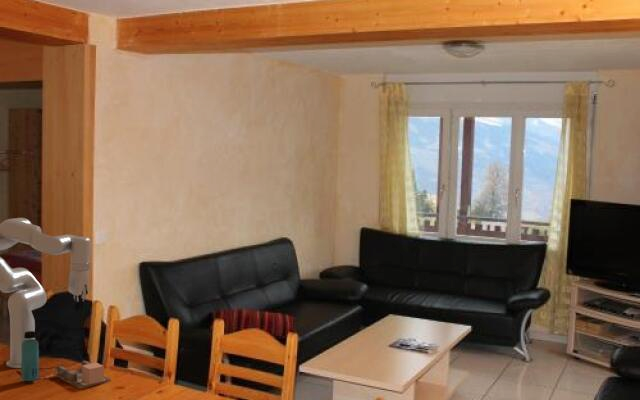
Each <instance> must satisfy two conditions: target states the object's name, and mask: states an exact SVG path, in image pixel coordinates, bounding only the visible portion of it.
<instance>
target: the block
mask: <svg viewBox="0 0 640 400" xmlns="http://www.w3.org/2000/svg"><path fill="white" fill-rule="evenodd" d="M81 368H82V381H84V382H86V383H87V384H93V383H98V382H102V381H104V376H105V374H104V373H105V371H104V370H105V366H104V365H103V364H100V363H98V362H93V363H92V364H87V365H82V364H81Z"/></svg>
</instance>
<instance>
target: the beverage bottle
mask: <svg viewBox="0 0 640 400" xmlns="http://www.w3.org/2000/svg"><path fill="white" fill-rule="evenodd" d="M36 337H37V336H36V331H35V332H34V331H28V332H25V335H24V338H27V339H28V340H25V341H24V342H23V343H22V344H21V345H22V361H21V368H20V369H21V370H20V371H21V372H20V374H21V375H20V377H21V380H22V381H24V382H25V381H26V382H31V381H35V380H38V379H39V377H40V374H39V373H40V363H39V361H40V360H39V358H40V356H39V355H40V350H39V344H40V343H39V341H38V340H36ZM30 338H35V339H30Z"/></svg>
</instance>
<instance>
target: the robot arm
mask: <svg viewBox="0 0 640 400" xmlns="http://www.w3.org/2000/svg"><path fill="white" fill-rule="evenodd" d="M18 243H21V244H26V245H29V246H30V247H32V248H33V249H34V250H35V251H38V252H41V253H44V254H47V255H51V256H52V255H54V256H56V255H57V256H59V255H62V254H67V253H70V267H69V268H70V272H69V277H68V286H67V291H68V292H69V293H70V294H72V295H73V310H74V311H75V312H81V311H84V301H85V299H87V295H89V293H90V269H91V268H90V267H91V249H92V247H91V246H92V240H91V238H90V237H88V236H78V235H74V234H67V233H66V234H61V235H56V236H53V235H49V234H45V233H43V231H42V228H41V227H40V226H39V225H36V224H33V223H32V222H31V221H30V220H29V219H27V218H25V217H17V218H8V219H6V220H3V221H2V222H1V223H0V251H4V250H7V249H9V248H12V247H13V246H15V245H16V244H18ZM0 291H1V293H6V294H7V293H12V292H13V293H12V294H11V295H10V296H9V298H8V300H7V308H8V312H9V324H10V325H9V329H10V330H9V331H10V333H9V334H10V336H9V337H10V338H9V339H10V340H9V341H10V342H9V343H10V344H9V346H10V349H9V351H10V352H9V353H10V354H9V355H10V356H9V358H10V359H8V360H6V362H5V364H6V367H7V368H12V369H21V361H22V345H21V344H22V343H23V342H24V341H25V340H28V339H27V338H24V335H25V332H28V331H34V332H35V333H36V330H35V329H36V321H35V318H34V315H33V312H32V311H35V310H37V309H39V308H41V307H43V306H45V304H46V303H47V299H48V298H47V297H48V295H47V293H46V290H45V289H44V287H43V286H42V285H41V284H40V282H39V281H38V279H36V277H35V275H33V273H31V272H30V271H29V270H28V269H27V268H25V267H15V268H12V267H11V266H10V265H9V264H8V262H6V260H5V259H4V258H2V256H0ZM30 339H35V340H36V337H35V338H30Z"/></svg>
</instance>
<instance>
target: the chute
mask: <svg viewBox="0 0 640 400" xmlns="http://www.w3.org/2000/svg"><path fill="white" fill-rule="evenodd" d="M87 364H92V363H91V362H89V361H87V360H81V366H82V365H87ZM55 376H56V377H57V378H59V379H60V380H62V381H64V382H66V383H67V384H69V383H70V384H69V385H72V386H73V387H75V388H77V389H78V390H83V389H87V388H90V386H91V387H94V385H95V386H98V385H97V384H99V385H102V384H101V383H103V384H106V383H105V382H107V383H109V382H108V381H112V380H111V378H109V377H107V376H105V375H104V381H102V382H98V383H93V384H87V383H86V382H84V381H82V367H81V368H78V369H77V368H76V369H73V370H70V369H68V368H66V367H64V366H63V365H57V367H56V374H55Z"/></svg>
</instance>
